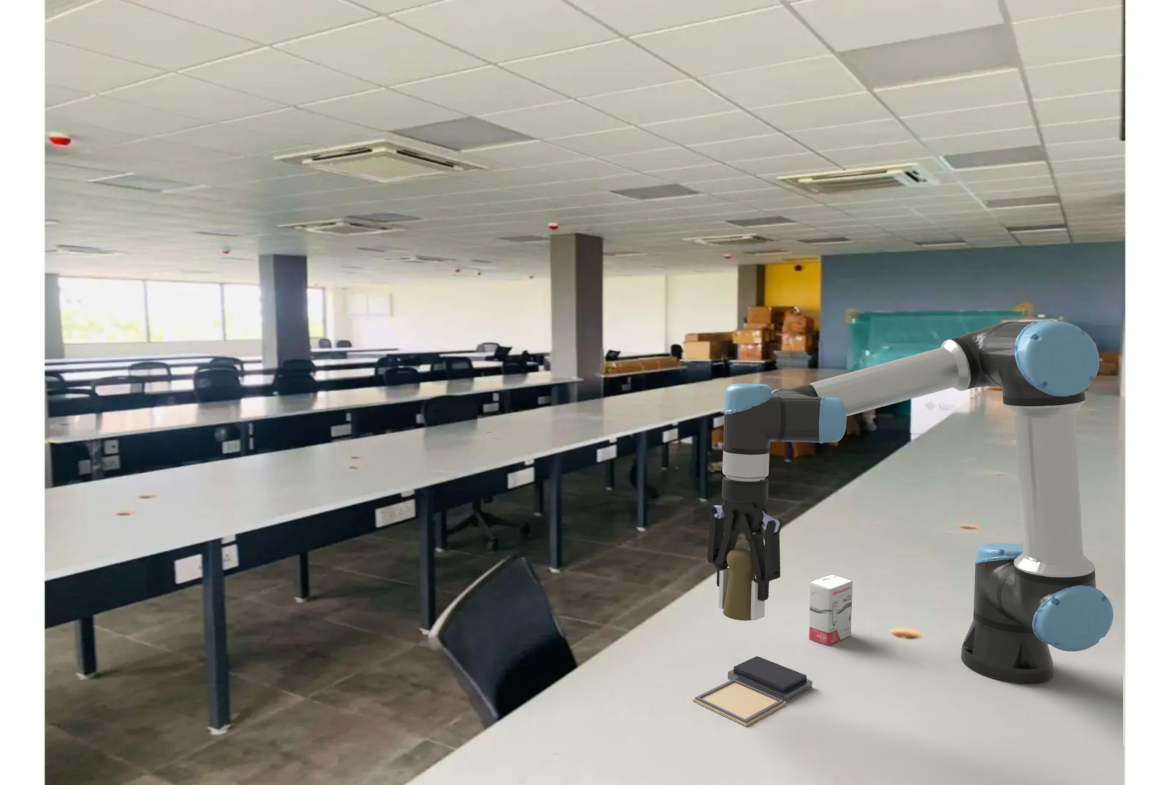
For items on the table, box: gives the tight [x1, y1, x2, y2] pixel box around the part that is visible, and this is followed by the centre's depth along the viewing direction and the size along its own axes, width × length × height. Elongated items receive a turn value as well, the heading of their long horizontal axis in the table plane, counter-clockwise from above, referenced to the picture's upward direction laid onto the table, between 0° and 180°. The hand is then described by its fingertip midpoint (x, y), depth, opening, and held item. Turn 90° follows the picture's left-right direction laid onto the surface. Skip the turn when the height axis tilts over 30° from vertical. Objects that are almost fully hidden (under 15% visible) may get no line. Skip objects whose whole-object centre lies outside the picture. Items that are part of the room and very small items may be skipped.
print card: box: [692, 679, 787, 727], centre depth 129 cm, size 11×11×1 cm
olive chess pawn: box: [722, 547, 756, 622], centre depth 128 cm, size 6×6×11 cm
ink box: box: [808, 574, 854, 646], centre depth 156 cm, size 9×5×12 cm, turn 129°
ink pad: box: [727, 655, 813, 703], centre depth 136 cm, size 12×8×2 cm
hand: (741, 611), depth 129 cm, fingers closed on olive chess pawn, 6 cm apart
